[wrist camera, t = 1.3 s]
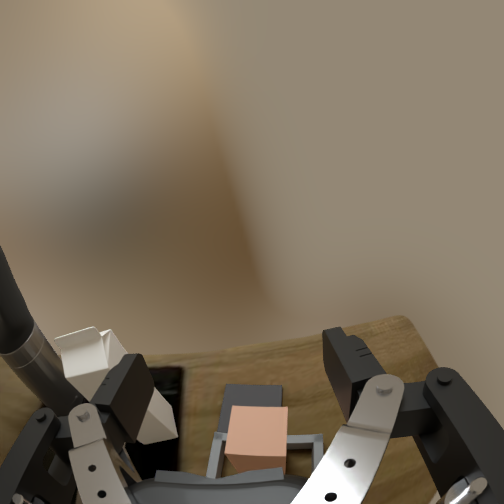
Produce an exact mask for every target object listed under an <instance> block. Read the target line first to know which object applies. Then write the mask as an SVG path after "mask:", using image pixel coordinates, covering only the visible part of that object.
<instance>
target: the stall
mask: <svg viewBox="0 0 504 504" xmlns="http://www.w3.org/2000/svg"><path fill="white" fill-rule="evenodd" d="M227 434H228V433H221V432H215V433H214V438H213V443H212V448H211V454H210V459H209V464H208V469H207V474H206V477H208V478H213V479H218V478H221V473H222V467H223V461H224V455H225V453H224V452H225V446H226V440H227ZM287 449H312V474H313V472H314V471H315V469H316V468H317V466H318V465H319V463H320V461H321V460H322V458H323V434H314V435H287Z"/></svg>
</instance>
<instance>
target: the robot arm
mask: <svg viewBox="0 0 504 504" xmlns="http://www.w3.org/2000/svg"><path fill="white" fill-rule="evenodd" d="M322 337H323V361H324V367H325V371H326V374H327V376H328V378H329V381H330V383H331V385H332V388H333V390H334V393H335V395H336V397H337V400H338V402H339V405H340V407H341V410H342V412H343V414H344V417H345V419H346V422H347V424H346V425H345V424H343V425H342V426H341V427H340V429H339V431H338V432H337V434H336V436H335V438H334V440H333V441H332V443H331V445H330V446H329V448H328V450H327V452H326V453H325V455H324V457H323V458H322V460H321V461H320V463H319V465H318V466H317V468H316V469H315V471H314V472H313V474H312V475H311V477H310V478H306V477H301V476H296V475H286V474H283V468H282V467H278V468H270V469H262V470H252V471H247V472H243V473H239V474H235V475H231V476H227V477H223V478H218V479H213V478H208V477H203V476H199V475H195V474H190V473H186V472H174V471H161V470H157V472H156V476H155V478H151V479H146V480H143V481H142V480H141V478H140V476H139V475H138V473H137V471H136V469H135V467H134V465H133V463H132V461H131V459H130V457H129V455H128V453H127V451H126V449H125V448H124V447H123V445H124V442H129V443H135V442H136V439H137V436H138V433H139V430H140V428H141V425H142V422H143V419H144V417H145V414H146V411H147V409H148V406H149V403H150V401H151V398H152V395H153V393H154V381H153V379H152V376H151V374H150V372H149V369H148V367H147V365H146V362H145V360H144V358H143V356H142V355H141V354H125V355H124V356H123V357H122V359H121V360H120V362H119V364H117V365H115V366H114V367H113V368H112V369H111V370H109V372H108V373H107V375H106V376H105V379H104V380H103V381H102V383H101V385H100V386H99V388H98V389H97V391H96V392H95V394H94V396H93V397H92V399H91V401H90V402H89V403H85V404H82V402H83V399H84V396H83V395H82V394H81V393H80V392H79V391H78V390H77V389H76V388H75V387H74V386H73V385H72V384H71V383H70V382H69V381H68V380H67V379H66V378H65V374H64V369H63V363H62V360H61V359H60V357H59V356H58V355H57V353H56V352H55V351H54V349H53V348H52V346H51V345H50V344H49V342H48V341H47V339H46V338H45V336H44V335H43V333H42V332H41V330H40V329H39V327H38V326H37V324H36V322H35V321H34V319H33V318H32V316H31V314H30V312H29V310H28V308H27V306H26V303H25V300H24V298H23V296H22V294H21V292H20V290H19V288H18V286H17V284H16V282H15V279H14V278H13V275H12V273H11V270H10V267H9V265H8V262H7V260H6V257H5V255H4V253H3V250H2V248H1V246H0V355H1V357H2V358H3V359H4V360H5V362H6V363H7V364H8V365H9V366H10V368H11V369H12V370H13V371H14V372H15V374H16V375H17V376H18V377H19V378H20V379H21V380H22V382H23V383H24V384H25V385H26V386H27V387H28V388H29V389H30V390H31V391H32V392H33V393H34V394H35V395H36V396H37V397H38V398H39V399H40V400H41V401H42V403H44V404H45V405H46V406H47V407H48V408H41V409H39V410H37V411H36V412H34V413H33V415H32V416H31V417H30V419H29V421H28V422H27V424H26V425H25V427H24V428H23V430H22V431H21V433H20V435H19V436H18V438H17V440H16V441H15V443H14V445H13V446H12V448H11V450H10V451H9V453H8V455H7V457H6V458H5V460H4V462H3V464H2V465H1V467H0V504H70V503H71V500H72V497H73V494H74V491H75V488H76V485H77V487H78V490H79V494H80V497H81V499H82V502H83V504H362V502H363V500H364V498H365V496H366V494H367V492H368V490H369V488H370V486H371V484H372V482H373V479H374V477H375V475H376V473H377V470H378V468H379V465H380V463H381V461H382V458H383V456H384V453H385V450H386V448H387V445H388V442H389V440H390V438H398V437H406V436H412V437H413V439H414V441H415V443H416V445H417V447H418V449H419V451H420V453H421V455H422V457H423V459H424V461H425V463H426V466H427V468H428V470H429V472H430V474H431V477H432V479H433V481H434V483H435V486H436V488H437V490H438V492H439V495H440V497H441V499H440V500H439V501H438V502H437V503H436V504H504V430H503V428H502V427H501V426H500V424H499V423H498V422H497V420H496V419H495V418H494V417H493V415H492V414H491V412H490V411H489V410H488V409H487V407H486V406H485V405H484V404H483V402H482V401H481V400H480V399H479V397H478V396H477V395H476V394H475V392H473V390H472V389H471V388H470V386H469V385H468V384H467V383H466V382H465V381H464V379H463V378H462V377H461V376H460V375H459V373H457V372H456V371H455V370H453V369H450V368H445V367H441V368H436V369H434V370H432V371H430V372H429V373H428V375H427V377H426V380H425V381H421V382H414V383H403V382H402V380H401V379H400V378H398V377H396V376H394V375H390V374H386V372H385V371H384V369H383V368H382V366H381V365H380V364H379V362H378V361H377V359H376V358H375V357H374V355H373V354H372V352H371V351H370V350H369V348H368V347H367V345H366V344H365V343H364V341H363V340H362V339H360V338H358V337H357V336H355V335H351V336H346V335H345V333H344V331H343V330H342V328H341V327H336V328H331V329H327V330H323V333H322ZM55 414H56V415H58V416H62V417H57V416H56V415H55ZM49 447H50V448H51V449H52V450H53V452H54V453H55V454H56V455H55V457H54V459H53V462H52V464H51V466H50V468H49V470H48V472H47V471H46V470H45V469H44V467H43V458H44V456H45V454H46V452H47V450H48V448H49Z"/></svg>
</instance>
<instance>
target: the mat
mask: <svg viewBox="0 0 504 504" xmlns="http://www.w3.org/2000/svg"><path fill="white" fill-rule="evenodd" d="M281 403H282V385H239V384H226V388H225V393H224V398H223V403H222V409H221V414H220V419H219V425H218V430H217V432H221V433H228V428H229V422H230V416H231V410H232V406H251V407H281Z"/></svg>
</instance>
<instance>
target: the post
mask: <svg viewBox="0 0 504 504" xmlns="http://www.w3.org/2000/svg"><path fill="white" fill-rule="evenodd" d="M287 415H288V407H251V406H232V410H231V416H230V422H229V428H228V434H227V440H226V446H225V452H224V453H225V455H226V456H227V458H228V459H229V461H230V462H231V464H232V465H233V466H234V468H235V469H236V471H237V472H238V473H243V472H247V471H252V470H262V469H270V468H278V467H282V468H283V474H285V470H286V449H287Z"/></svg>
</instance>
